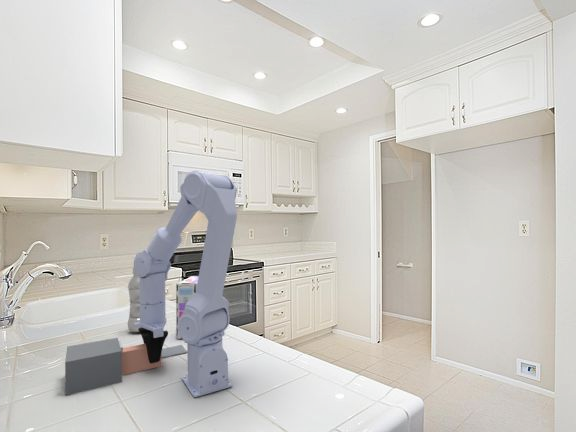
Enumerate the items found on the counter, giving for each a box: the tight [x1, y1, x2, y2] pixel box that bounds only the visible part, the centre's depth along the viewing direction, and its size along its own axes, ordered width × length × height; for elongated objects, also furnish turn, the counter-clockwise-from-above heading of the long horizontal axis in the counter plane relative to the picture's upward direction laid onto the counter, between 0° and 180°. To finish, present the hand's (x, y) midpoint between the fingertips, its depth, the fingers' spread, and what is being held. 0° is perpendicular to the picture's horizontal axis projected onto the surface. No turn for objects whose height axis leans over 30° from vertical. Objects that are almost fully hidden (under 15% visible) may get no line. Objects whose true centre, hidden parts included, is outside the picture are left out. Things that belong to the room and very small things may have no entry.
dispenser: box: [64, 337, 124, 396], centre depth 72 cm, size 10×10×6 cm
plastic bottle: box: [127, 267, 141, 333], centre depth 104 cm, size 6×7×20 cm
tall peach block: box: [122, 343, 163, 376], centre depth 76 cm, size 3×11×5 cm, turn 122°
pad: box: [161, 344, 187, 359], centre depth 84 cm, size 6×14×1 cm, turn 122°
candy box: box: [175, 275, 199, 340], centre depth 102 cm, size 14×6×16 cm, turn 179°
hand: (153, 359), depth 78 cm, fingers closed on tall peach block, 3 cm apart
